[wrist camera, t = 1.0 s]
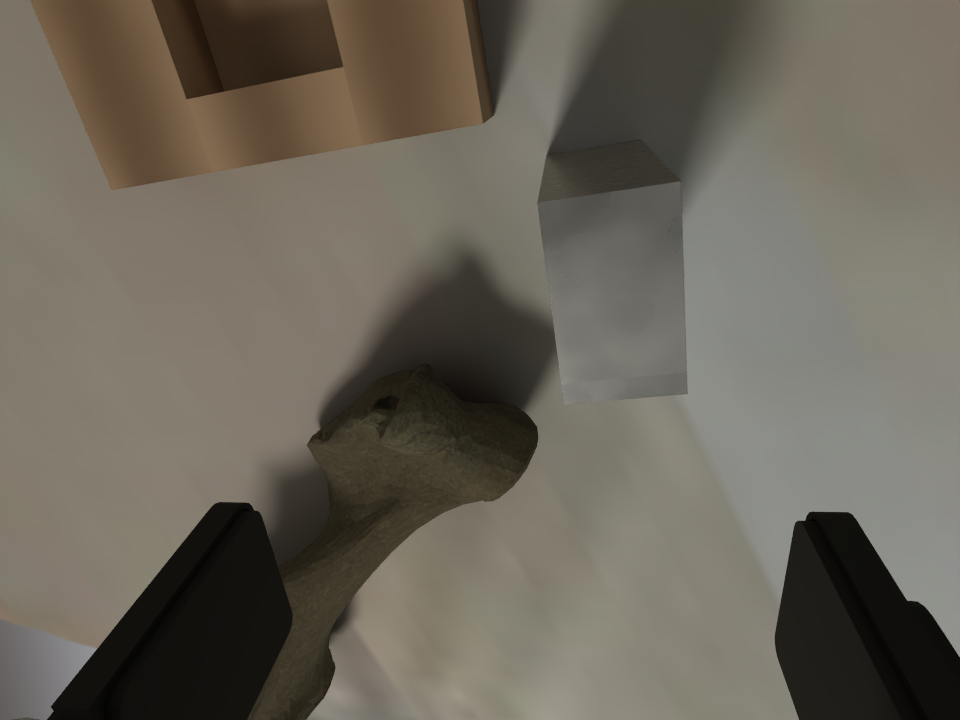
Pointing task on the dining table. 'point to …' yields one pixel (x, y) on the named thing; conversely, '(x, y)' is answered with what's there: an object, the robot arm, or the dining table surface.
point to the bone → (385, 507)
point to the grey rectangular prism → (615, 272)
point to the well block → (261, 77)
